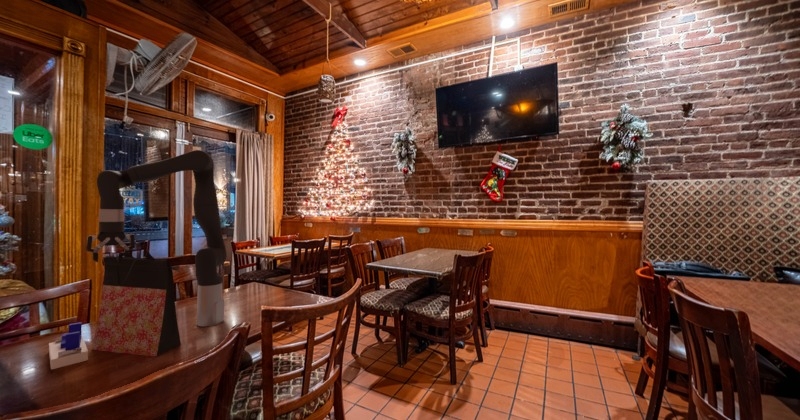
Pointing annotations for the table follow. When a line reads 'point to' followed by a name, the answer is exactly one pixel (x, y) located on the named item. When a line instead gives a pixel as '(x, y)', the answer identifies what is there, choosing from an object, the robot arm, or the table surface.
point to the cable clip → (72, 337)
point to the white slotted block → (66, 354)
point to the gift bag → (137, 306)
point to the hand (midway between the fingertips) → (111, 260)
